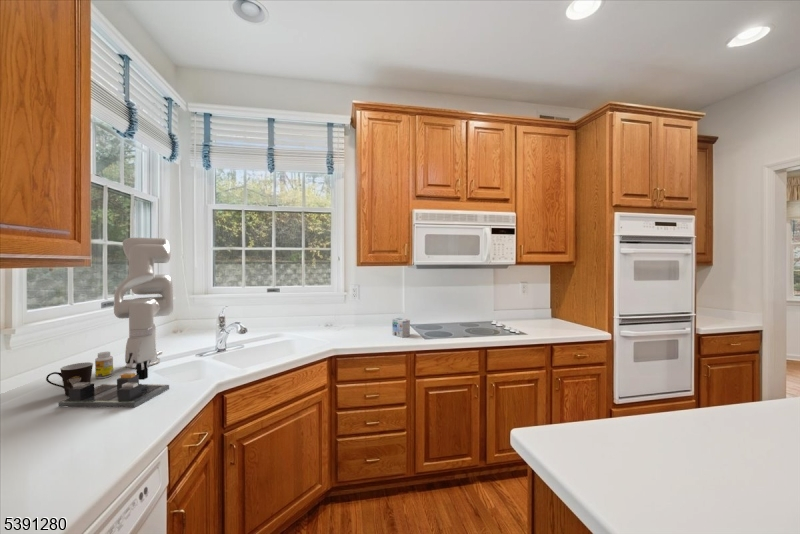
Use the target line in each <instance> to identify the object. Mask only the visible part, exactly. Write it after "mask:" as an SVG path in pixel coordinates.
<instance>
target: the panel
mask: <svg viewBox="0 0 800 534" xmlns="http://www.w3.org/2000/svg"><path fill="white" fill-rule="evenodd" d="M167 389H168V390H170V384H161V383H160V384H157V383H156V384H154V383H151V384H148V383H147V384H142V383H139V384H138V383H125V384H122V388H120V389H118V390H117V383H105V384H104V383H103V384H100V385H97V386H95V383H91V382H78V383H76V384H73V388H70V389H69V396H68V398H65V399H64V400H61V401H59V402H57V403H58V407H59V406H68V407H67V408H136V407H139V406H140V405H142V404H144V403H145V401H146V402H148V401H149V400H151V399H153V398H154V396H155V397H157V396H159V395H161V394H162V393H164V392H166V391H168V390H167ZM165 390H166V391H165ZM163 391H164V392H163ZM161 392H162V393H161ZM158 394H159V395H158ZM156 395H157V396H156ZM152 397H153V398H152ZM150 398H151V399H150Z"/></svg>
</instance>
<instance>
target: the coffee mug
mask: <svg viewBox="0 0 800 534" xmlns="http://www.w3.org/2000/svg"><path fill="white" fill-rule="evenodd" d="M93 366H94V363H93V362H88V361H87V362H76V363H72V364H68V365H64V366H62V367H60V372H57V371H54V372H51V373H49V374H47V375H46V378H45V381H46V382H47V383H48V384H50V385H51V386H52V385H53V386H55V387H60V388H62V389H64V394H65V396H66V395H68V396H67V397H69V389H70V388H73V384H76V383H78V382H90V383H92V381H91V380H92V372H93ZM51 375H58V376H59V377H61V379H62V384H58V383H55V382H53V381H50V379H49V377H50V376H51Z"/></svg>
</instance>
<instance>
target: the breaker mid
mask: <svg viewBox="0 0 800 534" xmlns="http://www.w3.org/2000/svg"><path fill="white" fill-rule="evenodd" d="M125 383H138V384H140V380H139V375H137V373H136V372H135V373H134V372H133V373H132V372H130V373H129V372H128V373H127V372H126V373H122V374H120V377H119V378H117V379H116V384H117V390H118V389H120V388H122V384H125Z"/></svg>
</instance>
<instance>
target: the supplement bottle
mask: <svg viewBox="0 0 800 534" xmlns="http://www.w3.org/2000/svg"><path fill="white" fill-rule="evenodd" d="M94 364H95V378H96V379H100V380H101V379H107V378H109V377H112V376H113V375H114V357H113V356H112V355H111V351H101V352H98V353H97V357H96V358H95V361H94Z"/></svg>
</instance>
